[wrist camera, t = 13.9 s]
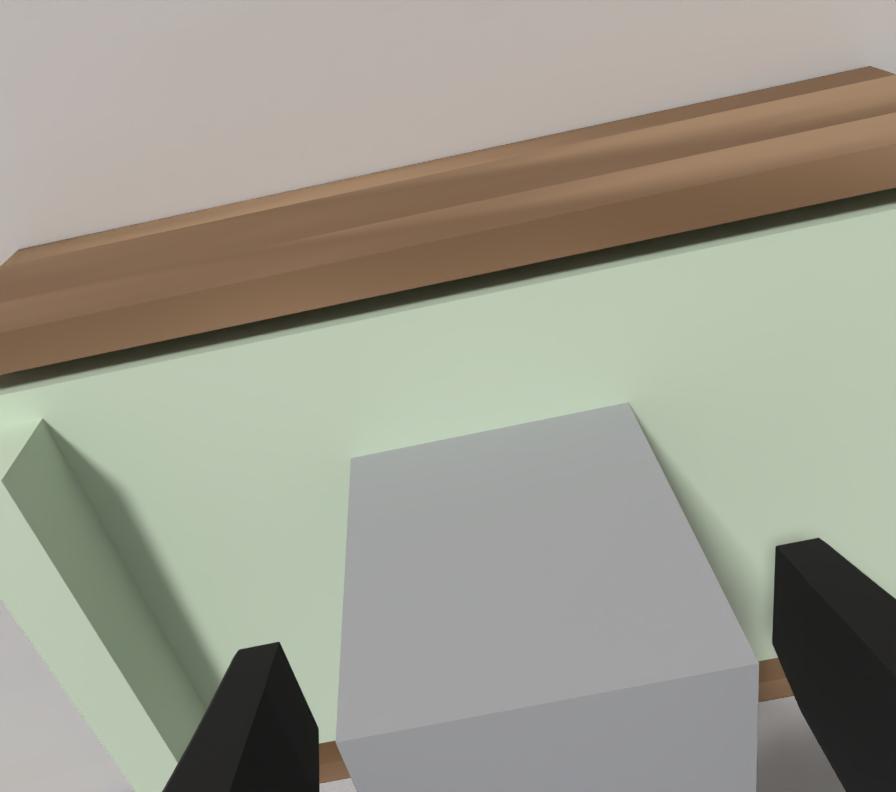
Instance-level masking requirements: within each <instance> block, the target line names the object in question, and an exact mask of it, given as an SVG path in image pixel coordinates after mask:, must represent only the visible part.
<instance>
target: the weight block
mask: <svg viewBox="0 0 896 792" xmlns="http://www.w3.org/2000/svg"><path fill="white" fill-rule="evenodd" d="M758 690H759V662H758V660H757V658H756V656H755V654H754V652H753V650H752V648H751V646H750V644H749V642H748V640H747V638H746V636H745V634H744V632H743V630H742V628H741V626H740V624H739V622H738V620H737V618H736V616H735V614H734V612H733V610H732V608H731V606H730V604H729V602H728V600H727V598H726V596H725V594H724V592H723V590H722V588H721V586H720V584H719V582H718V580H717V578H716V576H715V574H714V572H713V570H712V568H711V566H710V564H709V562H708V560H707V558H706V556H705V554H704V552H703V550H702V548H701V546H700V544H699V542H698V540H697V538H696V536H695V534H694V532H693V530H692V528H691V526H690V524H689V522H688V520H687V518H686V517H685V515H684V513H683V511H682V509H681V507H680V505H679V503H678V501H677V499H676V497H675V495H674V493H673V491H672V489H671V487H670V485H669V483H668V481H667V479H666V477H665V475H664V473H663V471H662V469H661V467H660V465H659V463H658V461H657V459H656V457H655V455H654V453H653V451H652V449H651V447H650V445H649V443H648V441H647V439H646V437H645V435H644V433H643V431H642V429H641V427H640V425H639V423H638V421H637V419H636V417H635V415H634V413H633V411H632V409H631V407H630V405H629V403H628V402H627V403H622V404H618V405H613V406H608V407H603V408H598V409H593V410H588V411H583V412H578V413H573V414H568V415H563V416H558V417H553V418H548V419H543V420H538V421H533V422H528V423H523V424H518V425H513V426H508V427H503V428H498V429H493V430H488V431H483V432H478V433H474V434H469V435H464V436H459V437H454V438H449V439H444V440H439V441H434V442H429V443H424V444H419V445H414V446H409V447H404V448H399V449H394V450H389V451H384V452H379V453H374V454H369V455H364V456H359V457H354V458H351V465H350V484H349V502H348V521H347V540H346V558H345V577H344V595H343V614H342V632H341V651H340V670H339V688H338V707H337V725H336V745H337V747H338V749H339V752H340V754H341V756H342V758H343V761H344V763H345V765H346V767H347V770H348V772H349V774H350V777H351V779H352V781H353V783H354V786H355V788H356V790H357V792H756V775H757V732H758Z"/></svg>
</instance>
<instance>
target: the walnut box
mask: <svg viewBox="0 0 896 792" xmlns="http://www.w3.org/2000/svg"><path fill="white" fill-rule="evenodd" d="M891 188H896V74H893V73H890V72H887V71H884V70H880V69H877V68H874V67H871V66H869V67H864V68H859V69H855V70H850V71H845V72H841V73H836V74H831V75H827V76H822V77H817V78H813V79H808V80H804V81H799V82H794V83H790V84H785V85H780V86H776V87H771V88H766V89H762V90H757V91H752V92H748V93H743V94H739V95H734V96H729V97H725V98H720V99H715V100H711V101H706V102H701V103H697V104H692V105H687V106H683V107H678V108H674V109H669V110H664V111H660V112H655V113H650V114H646V115H641V116H636V117H632V118H627V119H622V120H618V121H613V122H609V123H604V124H599V125H595V126H590V127H585V128H581V129H576V130H571V131H567V132H562V133H557V134H553V135H548V136H544V137H539V138H534V139H530V140H525V141H520V142H516V143H511V144H506V145H502V146H497V147H493V148H488V149H483V150H479V151H474V152H469V153H465V154H460V155H455V156H451V157H446V158H441V159H437V160H432V161H428V162H423V163H418V164H414V165H409V166H404V167H400V168H395V169H390V170H386V171H381V172H376V173H372V174H367V175H363V176H358V177H353V178H349V179H344V180H339V181H335V182H330V183H325V184H321V185H316V186H311V187H307V188H302V189H298V190H293V191H288V192H284V193H279V194H274V195H270V196H265V197H260V198H256V199H251V200H246V201H242V202H237V203H233V204H228V205H223V206H219V207H214V208H209V209H205V210H200V211H195V212H191V213H186V214H182V215H177V216H172V217H168V218H163V219H158V220H154V221H149V222H144V223H140V224H135V225H130V226H126V227H121V228H117V229H112V230H107V231H103V232H98V233H93V234H89V235H84V236H79V237H75V238H70V239H65V240H61V241H56V242H52V243H47V244H42V245H38V246H33V247H28V248H24V249H19V250H18V251H17V252H15V253H14V254H13V255H12V256H11V257H10V258H9V259H8V260H7V261H6V262H5V263H4V264H3V265H2V266H1V267H0V375H2V374H7V373H12V372H16V371H21V370H26V369H31V368H36V367H40V366H45V365H50V364H55V363H59V362H64V361H69V360H74V359H79V358H83V357H88V356H93V355H98V354H102V353H107V352H112V351H117V350H122V349H126V348H131V347H136V346H141V345H145V344H150V343H155V342H160V341H165V340H169V339H174V338H179V337H184V336H188V335H193V334H198V333H203V332H208V331H212V330H217V329H222V328H227V327H232V326H236V325H241V324H246V323H251V322H255V321H260V320H265V319H270V318H275V317H279V316H284V315H289V314H294V313H298V312H303V311H308V310H313V309H318V308H322V307H327V306H332V305H337V304H341V303H346V302H351V301H356V300H361V299H365V298H370V297H375V296H380V295H384V294H389V293H394V292H399V291H404V290H408V289H413V288H418V287H423V286H427V285H432V284H437V283H442V282H447V281H451V280H456V279H461V278H466V277H471V276H475V275H480V274H485V273H490V272H494V271H499V270H504V269H509V268H514V267H518V266H523V265H528V264H533V263H537V262H542V261H547V260H552V259H557V258H561V257H566V256H571V255H576V254H580V253H585V252H590V251H595V250H600V249H604V248H609V247H614V246H619V245H623V244H628V243H633V242H638V241H643V240H647V239H652V238H657V237H662V236H666V235H671V234H676V233H681V232H686V231H690V230H695V229H700V228H705V227H709V226H714V225H719V224H724V223H729V222H733V221H738V220H743V219H748V218H753V217H757V216H762V215H767V214H772V213H776V212H781V211H786V210H791V209H796V208H800V207H805V206H810V205H815V204H819V203H824V202H829V201H834V200H839V199H843V198H848V197H853V196H858V195H862V194H867V193H872V192H877V191H882V190H886V189H891ZM758 662H759V690H758V702H762V701H768V700H773V699H779V698H784V697H789V696H794V694H793V692H792V690H791V687H790V685H789V683H788V681H787V678H786V676H785V673H784V671H783V668H782V666H781V664H780V661H779V659H778V658H773V659H768V660H763V661H758ZM347 778H351V777H350V774H349V772H348V770H347V767H346V765H345V763H344V761H343V758H342V756H341V754H340V752H339V749H338V747H337V745H336V740H335V741H330V742H325V743H319V784H320V783H325V782H331V781H336V780H341V779H347Z"/></svg>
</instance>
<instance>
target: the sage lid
mask: <svg viewBox="0 0 896 792" xmlns="http://www.w3.org/2000/svg"><path fill="white" fill-rule="evenodd" d="M627 402H628V403H629V405H630V407H631V409H632V411H633V413H634V415H635V417H636V419H637V421H638V423H639V425H640V427H641V429H642V431H643V433H644V435H645V437H646V439H647V441H648V443H649V445H650V447H651V449H652V451H653V453H654V455H655V457H656V459H657V461H658V463H659V465H660V467H661V469H662V471H663V473H664V475H665V477H666V479H667V481H668V483H669V485H670V487H671V489H672V491H673V493H674V495H675V497H676V499H677V501H678V503H679V505H680V507H681V509H682V511H683V513H684V515H685V517H686V518H687V520H688V522H689V524H690V526H691V528H692V530H693V532H694V534H695V536H696V538H697V540H698V542H699V544H700V546H701V548H702V550H703V552H704V554H705V556H706V558H707V560H708V562H709V564H710V566H711V568H712V570H713V572H714V574H715V576H716V578H717V580H718V582H719V584H720V586H721V588H722V590H723V592H724V594H725V596H726V598H727V600H728V602H729V604H730V606H731V608H732V610H733V612H734V614H735V616H736V618H737V620H738V622H739V624H740V626H741V628H742V630H743V632H744V634H745V636H746V638H747V640H748V642H749V644H750V646H751V648H752V650H753V652H754V654H755V656H756V658H757V660H758V661H763V660H768V659H773V658H778V656H777V654H776V652H775V649H774V647H773V644H772V631H773V603H774V575H775V547H776V546H778V545H783V544H788V543H793V542H799V541H804V540H809V539H814V538H820V539H822V540H823V541H824V542H826V543H827V544H828V545H830V546H831V547H832V548H833V549H835V550H836V551H837V552H838V553H840V554H841V555H842V556H843V557H844V558H846V559H847V560H848V561H849V562H851V563H852V564H853V565H854V566H856V567H857V568H858V569H859V570H860V571H862V572H863V573H864V574H865V575H867V576H868V577H869V578H870V579H872V580H873V581H874V582H875V583H877V584H878V585H879V586H880V587H882V588H883V589H884V590H885V591H887V592H888V593H889V594H890V595H892V596H893V597H894V598H895V599H896V188H891V189H886V190H882V191H877V192H872V193H867V194H862V195H858V196H853V197H848V198H843V199H839V200H834V201H829V202H824V203H819V204H815V205H810V206H805V207H800V208H796V209H791V210H786V211H781V212H776V213H772V214H767V215H762V216H757V217H753V218H748V219H743V220H738V221H733V222H729V223H724V224H719V225H714V226H709V227H705V228H700V229H695V230H690V231H686V232H681V233H676V234H671V235H666V236H662V237H657V238H652V239H647V240H643V241H638V242H633V243H628V244H623V245H619V246H614V247H609V248H604V249H600V250H595V251H590V252H585V253H580V254H576V255H571V256H566V257H561V258H557V259H552V260H547V261H542V262H537V263H533V264H528V265H523V266H518V267H514V268H509V269H504V270H499V271H494V272H490V273H485V274H480V275H475V276H471V277H466V278H461V279H456V280H451V281H447V282H442V283H437V284H432V285H427V286H423V287H418V288H413V289H408V290H404V291H399V292H394V293H389V294H384V295H380V296H375V297H370V298H365V299H361V300H356V301H351V302H346V303H341V304H337V305H332V306H327V307H322V308H318V309H313V310H308V311H303V312H298V313H294V314H289V315H284V316H279V317H275V318H270V319H265V320H260V321H255V322H251V323H246V324H241V325H236V326H232V327H227V328H222V329H217V330H212V331H208V332H203V333H198V334H193V335H188V336H184V337H179V338H174V339H169V340H165V341H160V342H155V343H150V344H145V345H141V346H136V347H131V348H126V349H122V350H117V351H112V352H107V353H102V354H98V355H93V356H88V357H83V358H79V359H74V360H69V361H64V362H59V363H55V364H50V365H45V366H40V367H36V368H31V369H26V370H21V371H16V372H12V373H7V374H2V375H0V599H1V601H2V602H3V603H4V605H5V606H6V608H7V609H8V611H9V612H10V614H11V615H12V616H13V618H14V619H15V621H16V622H17V624H18V625H19V626H20V628H21V629H22V631H23V632H24V634H25V635H26V636H27V638H28V639H29V641H30V642H31V644H32V645H33V647H34V648H35V649H36V651H37V652H38V654H39V655H40V657H41V658H42V659H43V661H44V662H45V664H46V665H47V667H48V668H49V669H50V671H51V672H52V674H53V675H54V677H55V678H56V680H57V681H58V682H59V684H60V685H61V687H62V688H63V690H64V691H65V692H66V694H67V695H68V697H69V698H70V700H71V701H72V703H73V704H74V705H75V707H76V708H77V710H78V711H79V713H80V714H81V715H82V717H83V718H84V720H85V721H86V723H87V724H88V725H89V727H90V728H91V730H92V731H93V733H94V734H95V736H96V737H97V738H98V740H99V741H100V743H101V744H102V746H103V747H104V748H105V750H106V751H107V753H108V754H109V756H110V757H111V758H112V760H113V761H114V763H115V764H116V766H117V767H118V769H119V770H120V771H121V773H122V774H123V776H124V777H125V779H126V780H127V781H128V783H129V784H130V786H131V787H132V789H133V790H134V792H162V791H163V789H164V787H165V786H166V784H167V782H168V780H169V778H170V777H171V775H172V773H173V771H174V769H175V768H176V766H177V764H178V762H179V760H180V759H181V757H182V755H183V753H184V751H185V750H186V748H187V746H188V744H189V742H190V740H191V739H192V737H193V735H194V733H195V731H196V729H197V727H198V725H199V723H200V722H201V720H202V718H203V716H204V714H205V712H206V710H207V708H208V706H209V704H210V702H211V700H212V698H213V696H214V695H215V693H216V691H217V689H218V687H219V685H220V683H221V681H222V679H223V677H224V675H225V673H226V671H227V669H228V667H229V665H230V663H231V661H232V659H233V657H234V655H235V654H236V653H237V651H238V650H239V649H244V648H249V647H254V646H259V645H264V644H270V643H275V642H280V644H281V646H282V648H283V650H284V653H285V655H286V657H287V659H288V661H289V664H290V666H291V668H292V670H293V672H294V675H295V677H296V679H297V681H298V684H299V686H300V688H301V690H302V692H303V695H304V697H305V699H306V701H307V704H308V706H309V708H310V710H311V712H312V715H313V717H314V719H315V721H316V724H317V726H318V728H319V743H325V742H330V741H335V740H336V725H337V707H338V688H339V670H340V651H341V632H342V614H343V595H344V577H345V558H346V540H347V521H348V502H349V484H350V465H351V458H354V457H359V456H364V455H369V454H374V453H379V452H384V451H389V450H394V449H399V448H404V447H409V446H414V445H419V444H424V443H429V442H434V441H439V440H444V439H449V438H454V437H459V436H464V435H469V434H474V433H478V432H483V431H488V430H493V429H498V428H503V427H508V426H513V425H518V424H523V423H528V422H533V421H538V420H543V419H548V418H553V417H558V416H563V415H568V414H573V413H578V412H583V411H588V410H593V409H598V408H603V407H608V406H613V405H618V404H622V403H627Z"/></svg>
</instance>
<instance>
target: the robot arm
mask: <svg viewBox="0 0 896 792" xmlns="http://www.w3.org/2000/svg"><path fill="white" fill-rule="evenodd" d="M772 644H773V647H774V649H775V652H776V654H777V656H778V659H779V661H780V664H781V666H782V668H783V671H784V673H785V676H786V678H787V681H788V683H789V685H790V687H791V690H792V692H793V694H794V696H795V699H796V701H797V703H798V706H799V708H800V710H801V712H802V714H803V716H804V718H805V719H806V721H807V723H808V725H809V727H810V729H811V730H812V732H813V734H814V736H815V737H816V739H817V741H818V743H819V745H820V746H821V748H822V750H823V752H824V753H825V755H826V757H827V759H828V761H829V762H830V764H831V766H832V768H833V769H834V771H835V773H836V775H837V776H838V778H839V780H840V782H841V783H842V785H843V787H844V789H845V790H846V792H896V599H895V598H894V597H893V596H892V595H890V594H889V593H888V592H887V591H885V590H884V589H883V588H882V587H880V586H879V585H878V584H877V583H875V582H874V581H873V580H872V579H870V578H869V577H868V576H867V575H865V574H864V573H863V572H862V571H860V570H859V569H858V568H857V567H856V566H854V565H853V564H852V563H851V562H849V561H848V560H847V559H846V558H844V557H843V556H842V555H841V554H840V553H838V552H837V551H836V550H835V549H833V548H832V547H831V546H830V545H828V544H827V543H826V542H824V541H823V540H822V539H820V538H814V539H809V540H804V541H799V542H793V543H788V544H783V545H778V546H776V547H775V575H774V603H773V631H772ZM162 792H319V728H318V726H317V724H316V721H315V719H314V717H313V715H312V712H311V710H310V708H309V706H308V704H307V701H306V699H305V697H304V695H303V692H302V690H301V688H300V686H299V684H298V681H297V679H296V677H295V675H294V672H293V670H292V668H291V666H290V664H289V661H288V659H287V657H286V655H285V653H284V650H283V648H282V646H281V644H280V642H275V643H270V644H264V645H259V646H254V647H249V648H244V649H239V650H238V651H237V653H236V654H235V655H234V657H233V659H232V661H231V663H230V665H229V667H228V669H227V671H226V673H225V675H224V677H223V679H222V681H221V683H220V685H219V687H218V689H217V691H216V693H215V695H214V696H213V698H212V700H211V702H210V704H209V706H208V708H207V710H206V712H205V714H204V716H203V718H202V720H201V722H200V723H199V725H198V727H197V729H196V731H195V733H194V735H193V737H192V739H191V740H190V742H189V744H188V746H187V748H186V750H185V751H184V753H183V755H182V757H181V759H180V760H179V762H178V764H177V766H176V768H175V769H174V771H173V773H172V775H171V777H170V778H169V780H168V782H167V784H166V786H165V787H164V789H163V791H162Z"/></svg>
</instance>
